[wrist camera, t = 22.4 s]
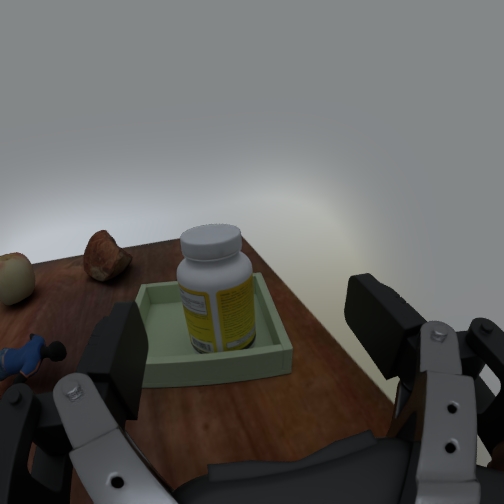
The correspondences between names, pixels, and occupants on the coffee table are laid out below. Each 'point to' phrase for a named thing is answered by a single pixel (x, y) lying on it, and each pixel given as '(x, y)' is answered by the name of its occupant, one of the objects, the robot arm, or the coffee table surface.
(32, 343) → the person figurine
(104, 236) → the fossil
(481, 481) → the robot arm
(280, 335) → the tray
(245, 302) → the pill bottle
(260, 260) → the coffee table surface
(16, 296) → the apple
